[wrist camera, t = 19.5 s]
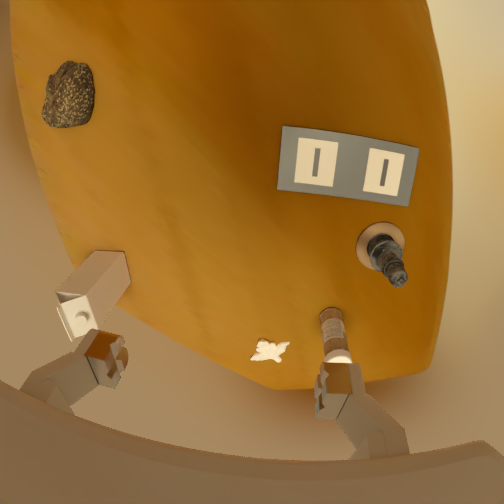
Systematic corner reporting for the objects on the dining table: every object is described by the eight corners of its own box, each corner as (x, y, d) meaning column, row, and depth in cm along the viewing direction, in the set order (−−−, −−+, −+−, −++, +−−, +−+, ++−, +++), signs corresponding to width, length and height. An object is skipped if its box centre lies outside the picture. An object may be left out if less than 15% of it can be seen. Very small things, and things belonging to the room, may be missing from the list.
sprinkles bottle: (339, 324, 59) (349, 374, 47) (317, 324, 60) (323, 375, 48) (343, 306, 57) (355, 356, 45) (320, 306, 58) (327, 357, 46)
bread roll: (92, 129, 46) (76, 134, 41) (44, 125, 45) (28, 130, 41) (102, 60, 40) (87, 58, 35) (52, 62, 39) (35, 62, 35)
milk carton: (103, 279, 60) (56, 338, 43) (95, 250, 57) (41, 304, 40) (131, 282, 59) (88, 345, 43) (124, 251, 56) (73, 310, 39)
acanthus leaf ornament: (250, 356, 66) (249, 362, 65) (255, 334, 63) (254, 340, 62) (283, 361, 66) (283, 367, 65) (290, 340, 63) (290, 346, 61)
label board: (282, 125, 43) (282, 126, 42) (417, 147, 42) (419, 148, 41) (277, 188, 48) (277, 190, 47) (406, 205, 47) (408, 207, 46)
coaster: (361, 218, 49) (362, 220, 48) (408, 225, 48) (410, 226, 48) (351, 265, 53) (351, 267, 52) (396, 270, 53) (397, 271, 52)
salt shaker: (395, 260, 51) (418, 299, 40) (364, 263, 52) (381, 304, 41) (397, 230, 48) (423, 265, 38) (365, 232, 49) (385, 269, 39)
